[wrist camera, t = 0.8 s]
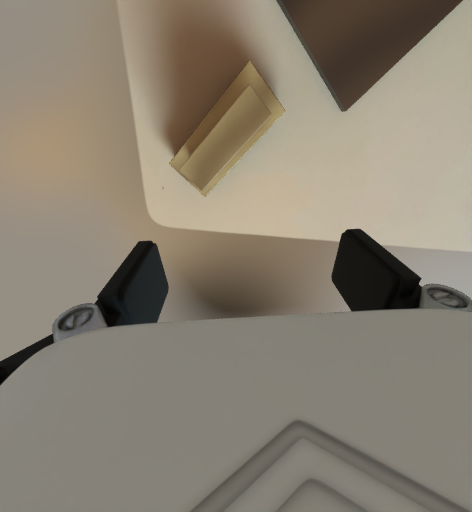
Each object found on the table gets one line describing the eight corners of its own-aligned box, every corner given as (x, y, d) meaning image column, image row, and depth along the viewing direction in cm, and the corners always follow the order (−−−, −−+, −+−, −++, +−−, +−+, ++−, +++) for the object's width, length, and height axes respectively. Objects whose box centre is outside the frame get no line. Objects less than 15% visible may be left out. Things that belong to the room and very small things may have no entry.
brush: (175, 159, 26) (150, 176, 18) (247, 67, 21) (258, 34, 13) (207, 189, 28) (198, 217, 20) (279, 112, 23) (305, 106, 15)
